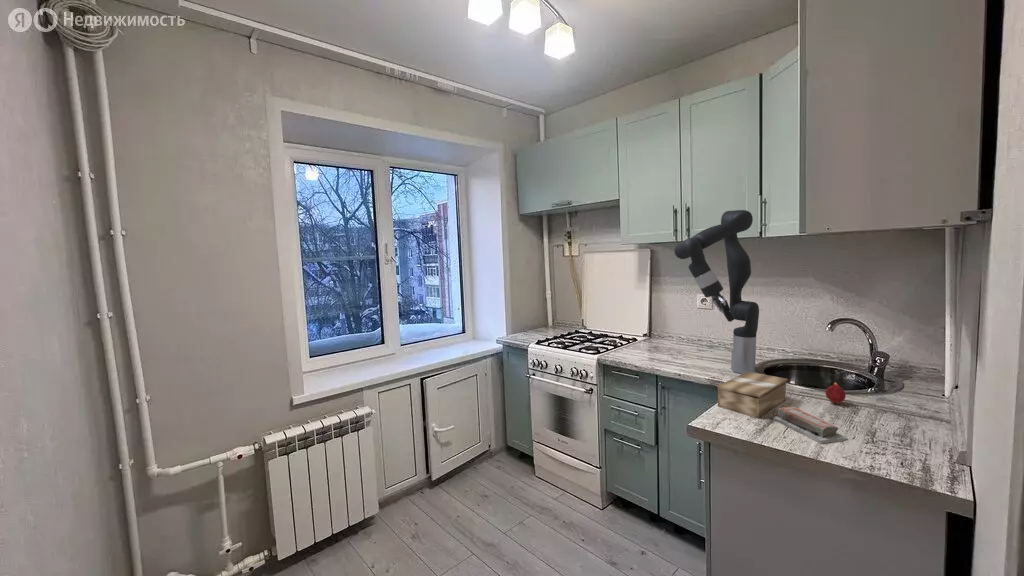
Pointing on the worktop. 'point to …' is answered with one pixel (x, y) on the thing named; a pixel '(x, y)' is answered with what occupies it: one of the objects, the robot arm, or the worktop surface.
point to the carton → (751, 401)
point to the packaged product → (808, 425)
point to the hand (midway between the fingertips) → (731, 320)
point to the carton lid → (753, 384)
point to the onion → (835, 393)
